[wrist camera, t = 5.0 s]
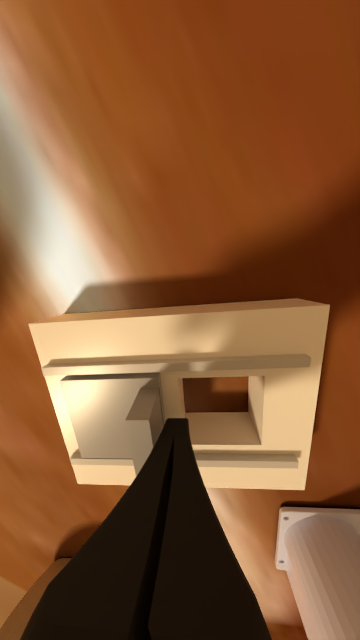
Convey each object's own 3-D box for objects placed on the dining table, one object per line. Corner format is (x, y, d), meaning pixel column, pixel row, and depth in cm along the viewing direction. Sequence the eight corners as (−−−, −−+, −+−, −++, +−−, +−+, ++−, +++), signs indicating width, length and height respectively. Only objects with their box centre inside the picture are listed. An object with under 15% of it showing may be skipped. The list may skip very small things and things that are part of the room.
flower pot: (27, 569, 24) (-41, 689, 17) (52, 534, 21) (-16, 658, 14) (89, 598, 24) (49, 724, 18) (120, 567, 22) (87, 701, 15)
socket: (283, 450, 15) (309, 498, 12) (97, 448, 17) (73, 491, 14) (296, 298, 12) (337, 306, 9) (63, 313, 14) (20, 326, 10)
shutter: (169, 450, 12) (162, 503, 10) (86, 449, 13) (56, 499, 10) (159, 372, 11) (148, 407, 8) (66, 375, 11) (23, 408, 9)
